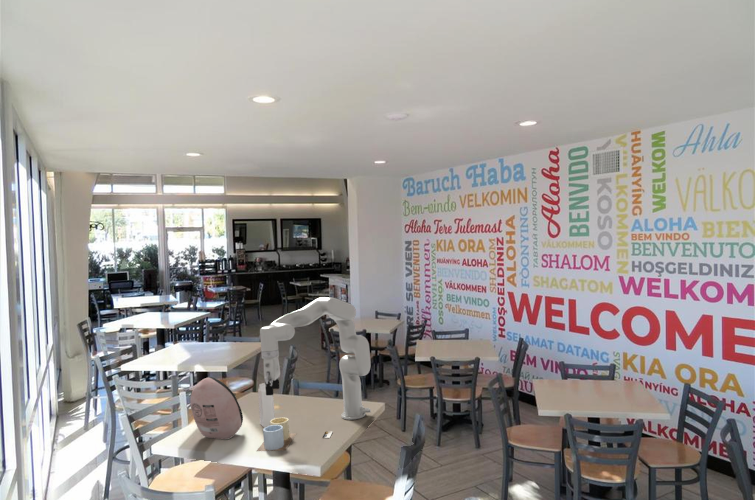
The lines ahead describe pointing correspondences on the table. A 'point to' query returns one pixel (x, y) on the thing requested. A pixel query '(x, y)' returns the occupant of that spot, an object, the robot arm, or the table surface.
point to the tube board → (288, 441)
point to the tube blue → (273, 437)
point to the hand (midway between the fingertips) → (272, 391)
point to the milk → (265, 406)
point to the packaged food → (215, 409)
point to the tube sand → (284, 423)
